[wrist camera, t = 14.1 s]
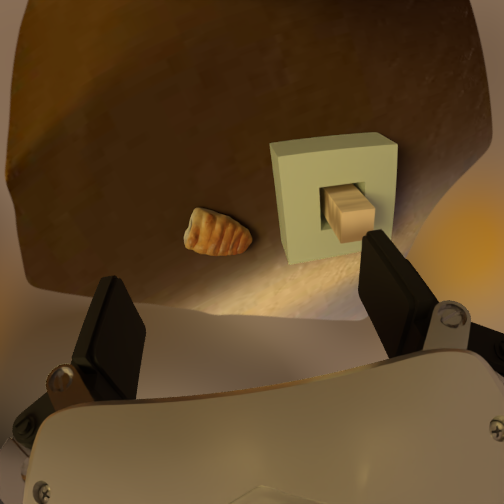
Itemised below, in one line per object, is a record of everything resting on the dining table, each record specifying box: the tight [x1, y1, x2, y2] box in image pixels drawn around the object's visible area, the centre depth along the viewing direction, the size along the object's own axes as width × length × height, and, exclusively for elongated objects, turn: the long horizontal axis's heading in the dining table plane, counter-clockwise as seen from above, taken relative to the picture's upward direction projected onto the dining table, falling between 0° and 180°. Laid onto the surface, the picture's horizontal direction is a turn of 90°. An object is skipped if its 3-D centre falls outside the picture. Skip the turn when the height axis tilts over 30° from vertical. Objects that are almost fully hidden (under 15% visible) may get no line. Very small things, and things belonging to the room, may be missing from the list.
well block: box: [270, 132, 398, 265], centre depth 40 cm, size 15×15×6 cm
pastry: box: [184, 208, 252, 256], centre depth 44 cm, size 9×7×4 cm
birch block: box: [319, 183, 375, 244], centre depth 38 cm, size 4×4×10 cm
